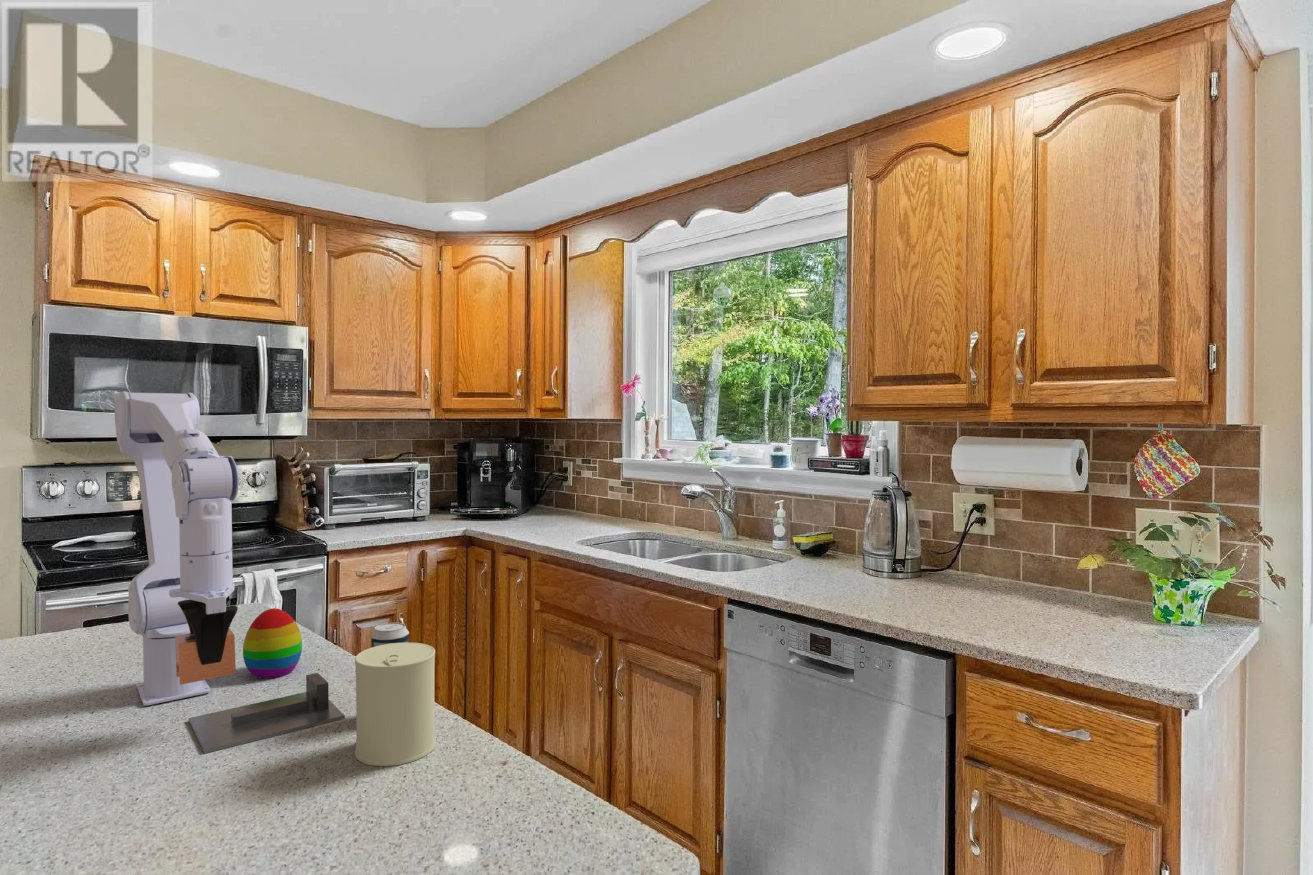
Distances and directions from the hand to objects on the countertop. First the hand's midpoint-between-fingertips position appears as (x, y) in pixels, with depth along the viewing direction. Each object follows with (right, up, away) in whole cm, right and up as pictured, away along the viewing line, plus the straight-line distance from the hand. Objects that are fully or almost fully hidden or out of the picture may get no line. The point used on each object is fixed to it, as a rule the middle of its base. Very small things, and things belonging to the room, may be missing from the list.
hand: (208, 658), depth 95 cm
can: (+26, -10, -5) cm, 28 cm away
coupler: (+6, -9, +3) cm, 11 cm away
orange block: (0, -2, 0) cm, 2 cm away
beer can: (+22, -9, +4) cm, 24 cm away
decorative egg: (-2, -9, +21) cm, 22 cm away
